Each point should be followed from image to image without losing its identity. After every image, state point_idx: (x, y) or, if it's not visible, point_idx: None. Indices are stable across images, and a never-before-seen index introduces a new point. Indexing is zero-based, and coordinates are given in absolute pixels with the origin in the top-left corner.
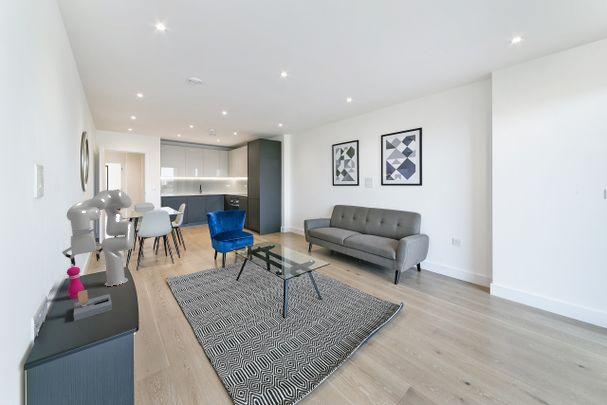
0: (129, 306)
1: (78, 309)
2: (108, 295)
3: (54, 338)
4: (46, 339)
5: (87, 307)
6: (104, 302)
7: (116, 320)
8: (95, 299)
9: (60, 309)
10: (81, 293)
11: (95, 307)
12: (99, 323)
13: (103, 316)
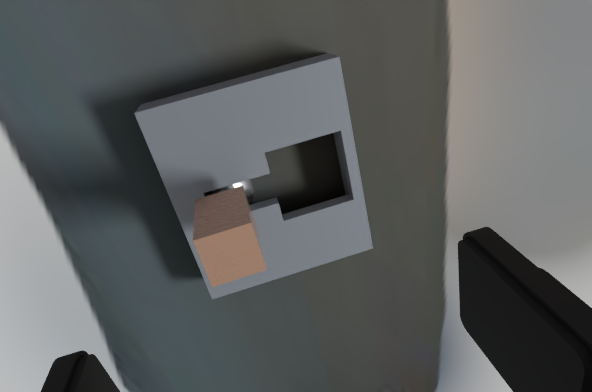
0: (431, 228)
1: None
2: (336, 87)
3: (195, 388)
4: (166, 386)
5: None
6: (332, 206)
7: (386, 337)
8: (264, 121)
9: (24, 57)
10: (233, 279)
11: (298, 254)
12: (329, 338)
13: (332, 284)
